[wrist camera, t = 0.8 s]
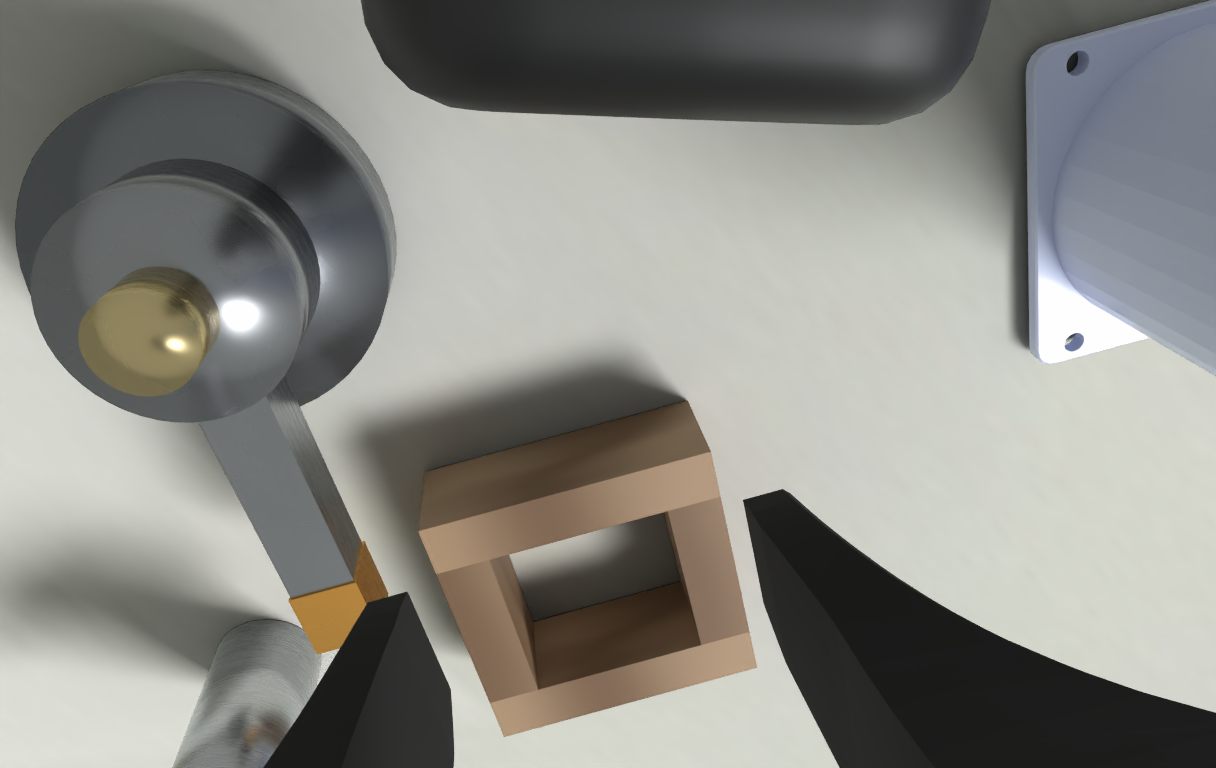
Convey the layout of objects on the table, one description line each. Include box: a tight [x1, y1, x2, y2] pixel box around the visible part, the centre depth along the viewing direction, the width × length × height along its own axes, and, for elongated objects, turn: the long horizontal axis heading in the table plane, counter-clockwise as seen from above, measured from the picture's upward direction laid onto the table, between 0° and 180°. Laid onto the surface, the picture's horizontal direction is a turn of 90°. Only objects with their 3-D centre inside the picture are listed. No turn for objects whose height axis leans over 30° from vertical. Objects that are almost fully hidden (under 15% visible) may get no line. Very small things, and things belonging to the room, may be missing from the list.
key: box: [173, 620, 322, 768], centre depth 22 cm, size 5×3×6 cm, turn 104°
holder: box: [418, 401, 757, 737], centre depth 23 cm, size 7×7×3 cm
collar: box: [31, 159, 388, 654], centre depth 18 cm, size 4×11×2 cm, turn 14°
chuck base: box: [15, 70, 396, 407], centre depth 17 cm, size 7×7×6 cm
